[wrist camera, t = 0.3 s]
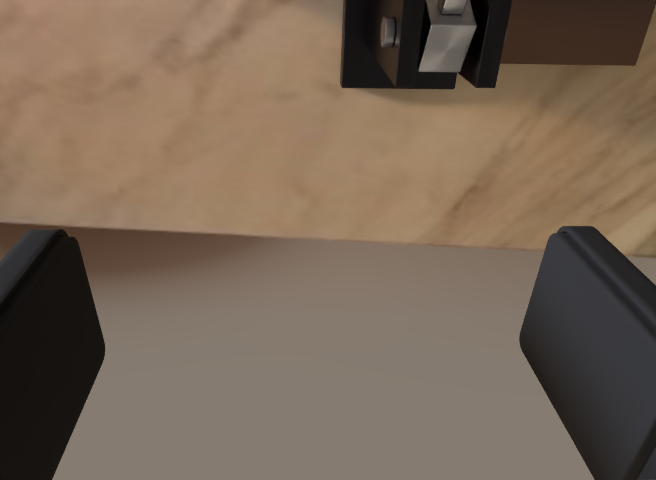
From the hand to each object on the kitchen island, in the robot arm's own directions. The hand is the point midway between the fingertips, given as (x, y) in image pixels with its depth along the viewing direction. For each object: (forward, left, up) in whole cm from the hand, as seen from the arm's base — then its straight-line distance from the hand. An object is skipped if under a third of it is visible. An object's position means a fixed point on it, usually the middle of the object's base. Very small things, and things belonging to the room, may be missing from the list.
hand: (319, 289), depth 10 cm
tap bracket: (-2, +7, -28) cm, 29 cm away
